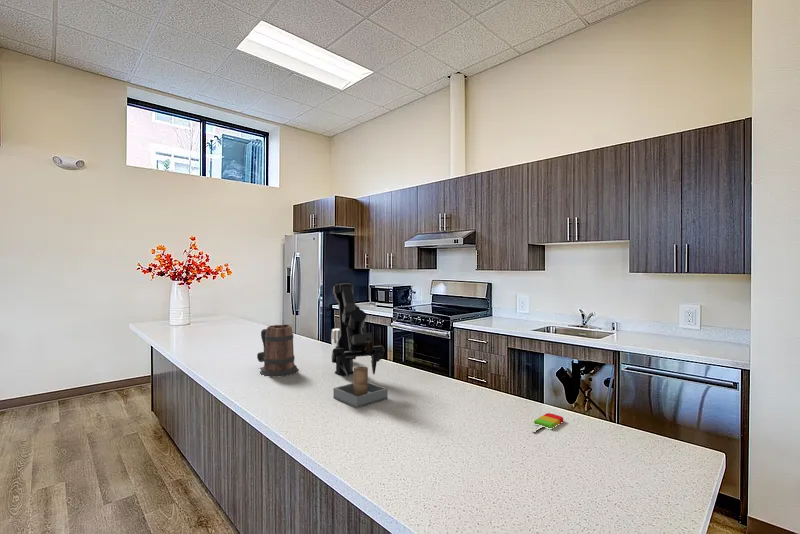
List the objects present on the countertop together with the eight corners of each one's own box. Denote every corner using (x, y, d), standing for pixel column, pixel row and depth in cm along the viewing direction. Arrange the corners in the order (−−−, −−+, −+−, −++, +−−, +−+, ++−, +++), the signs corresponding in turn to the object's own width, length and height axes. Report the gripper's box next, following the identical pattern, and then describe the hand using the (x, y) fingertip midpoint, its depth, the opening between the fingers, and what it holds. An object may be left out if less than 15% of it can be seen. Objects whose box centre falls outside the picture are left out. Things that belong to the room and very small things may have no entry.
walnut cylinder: (356, 393, 145) (356, 365, 145) (369, 394, 144) (369, 367, 143) (351, 397, 140) (351, 369, 140) (364, 399, 139) (364, 370, 139)
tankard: (307, 370, 178) (307, 325, 177) (274, 379, 164) (274, 330, 164) (274, 362, 192) (274, 320, 192) (242, 369, 178) (242, 325, 178)
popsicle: (564, 422, 122) (564, 416, 122) (542, 437, 111) (542, 431, 111) (547, 417, 126) (547, 412, 126) (523, 431, 115) (524, 425, 115)
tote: (363, 389, 151) (363, 380, 151) (387, 398, 142) (387, 388, 142) (333, 397, 142) (333, 388, 142) (357, 408, 132) (357, 397, 132)
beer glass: (346, 358, 201) (347, 328, 201) (343, 361, 194) (343, 330, 194) (333, 357, 202) (333, 327, 202) (329, 361, 195) (329, 330, 195)
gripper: (332, 325, 142) (337, 364, 132) (383, 323, 148) (391, 360, 138) (329, 343, 150) (333, 381, 140) (378, 341, 156) (385, 377, 145)
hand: (361, 374), depth 140 cm, fingers open, 9 cm apart
